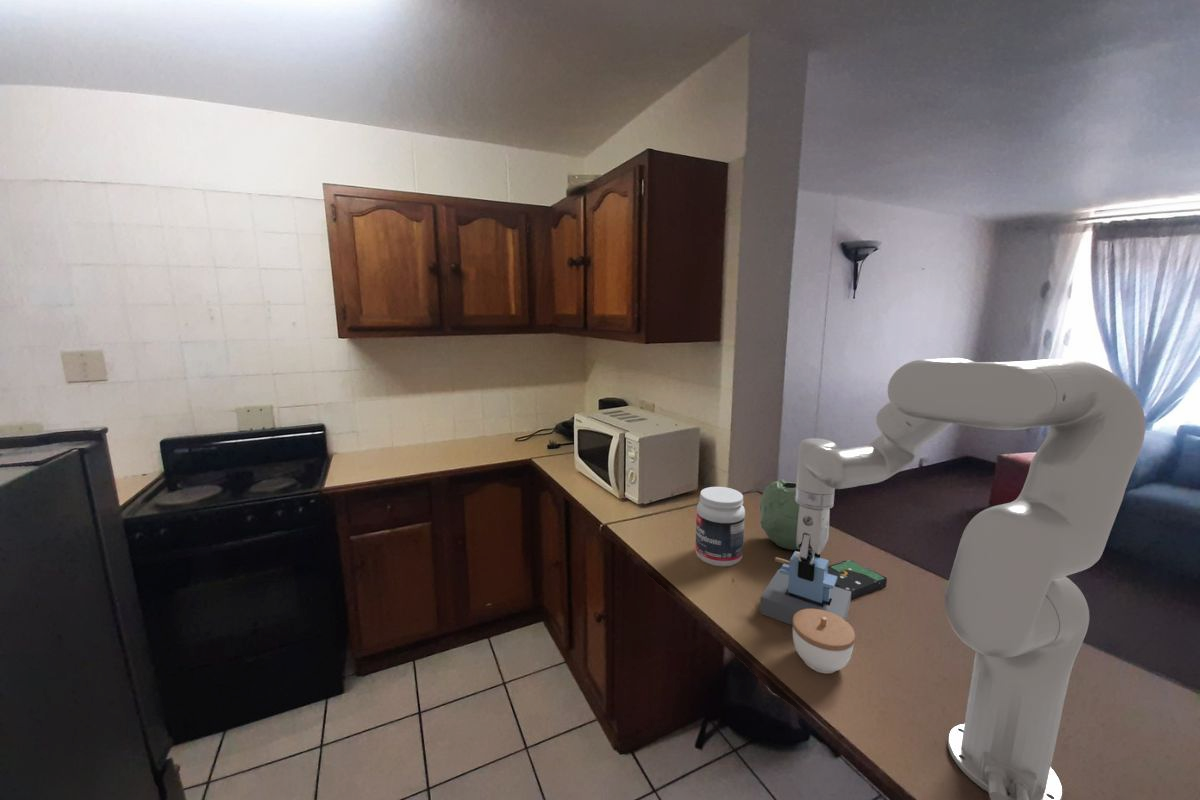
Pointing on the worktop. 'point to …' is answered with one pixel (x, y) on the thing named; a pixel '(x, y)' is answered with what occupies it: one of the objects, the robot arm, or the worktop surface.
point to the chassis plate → (799, 601)
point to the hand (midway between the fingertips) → (808, 572)
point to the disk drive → (856, 578)
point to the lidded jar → (822, 639)
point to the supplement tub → (720, 526)
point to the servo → (808, 589)
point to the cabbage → (780, 513)
